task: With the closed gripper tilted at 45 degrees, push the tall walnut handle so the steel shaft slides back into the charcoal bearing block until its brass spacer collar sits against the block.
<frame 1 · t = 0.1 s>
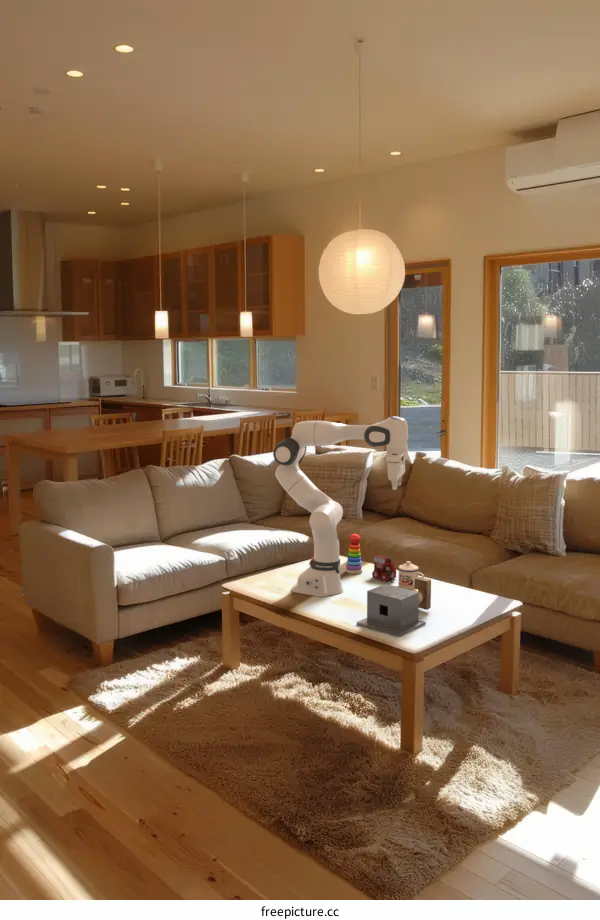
hand: (396, 487, 343), 48 cm above the table, tool pointing down, fingers open, 8 cm apart
teacup with lid: (411, 587, 363), on the table
stacking toy: (353, 572, 387), on the table
toy fire truck: (384, 579, 376), on the table
shaft: (409, 598, 325), point 8 cm above the table, slide at 8.0 cm
bearing block: (392, 624, 318), on the table
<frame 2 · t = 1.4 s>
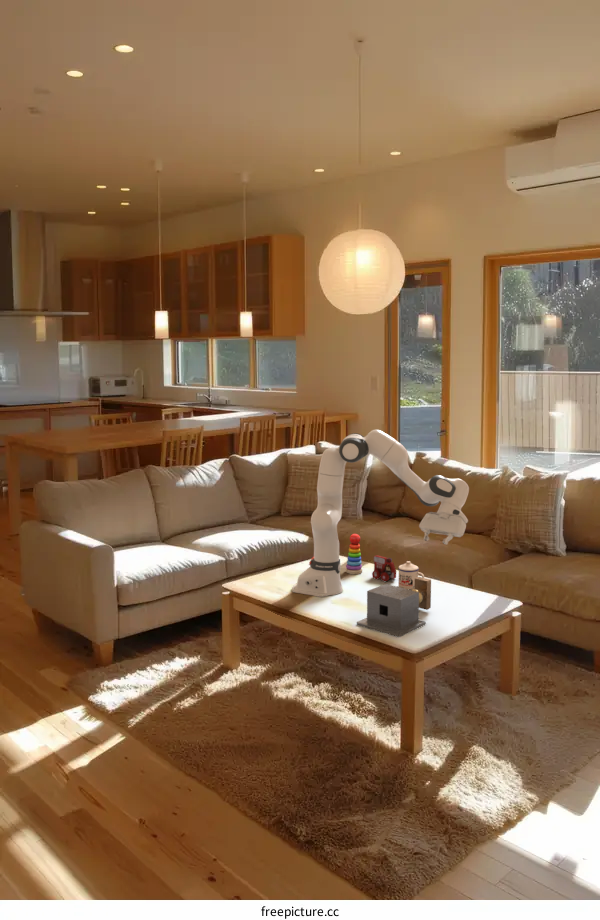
hand: (435, 541, 335), 27 cm above the table, tool tilted 45°, fingers open, 8 cm apart
nothing on the table moved.
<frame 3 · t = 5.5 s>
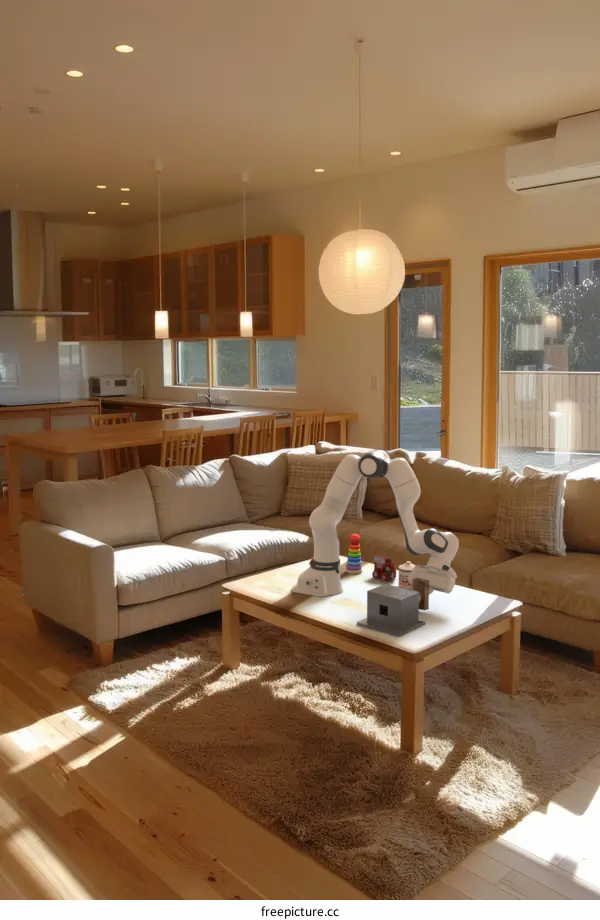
hand: (423, 596, 333), 6 cm above the table, tool tilted 45°, fingers closed, pressing on shaft
shaft: (407, 599, 324), point 8 cm above the table, slide at 6.5 cm, touching gripper
everything else where it was.
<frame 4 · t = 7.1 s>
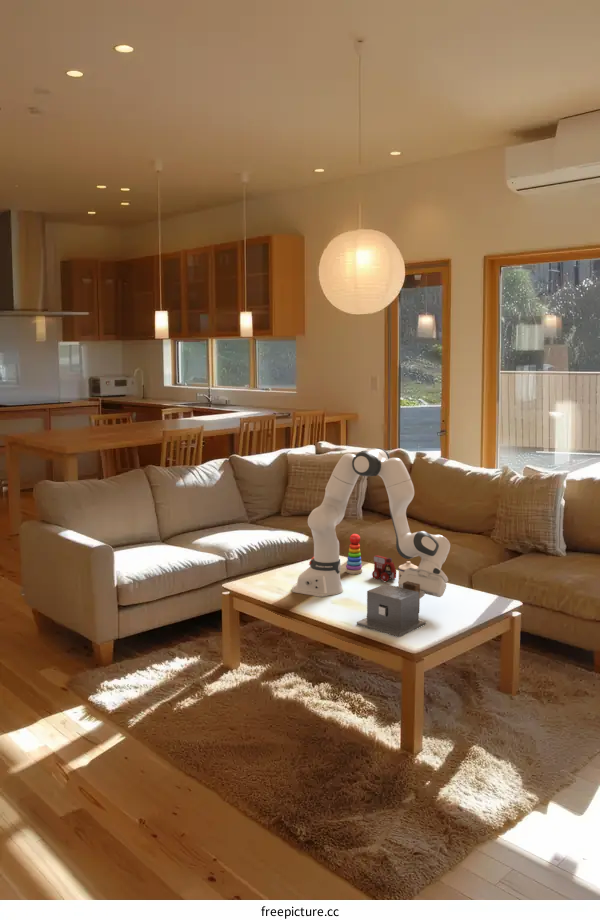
hand: (414, 600, 328), 6 cm above the table, tool tilted 45°, fingers closed, pressing on shaft
shaft: (398, 603, 319), point 8 cm above the table, slide at -0.1 cm, touching gripper
everything else where it was.
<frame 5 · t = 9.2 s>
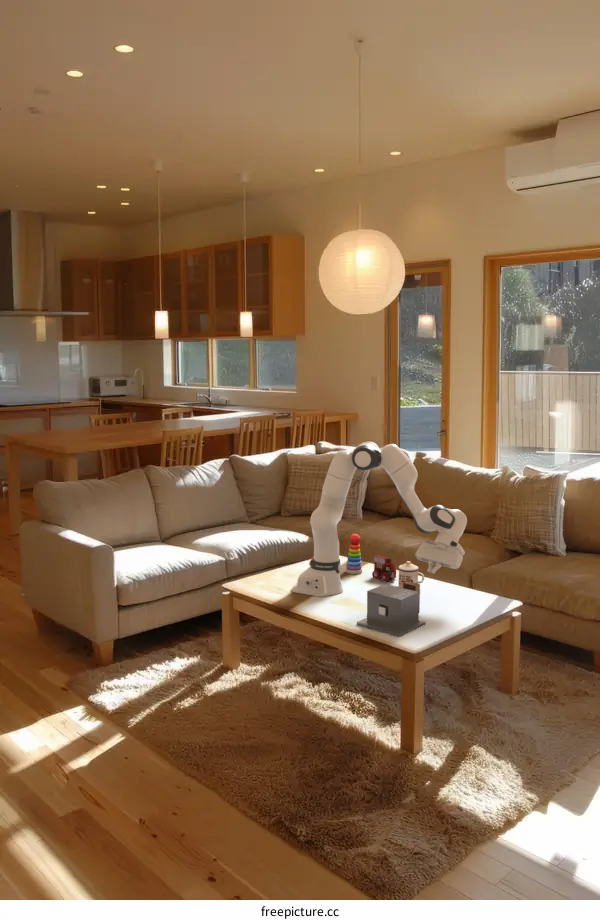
hand: (430, 572, 335), 15 cm above the table, tool tilted 45°, fingers closed
shaft: (398, 603, 319), point 8 cm above the table, slide at 0.0 cm
everything else where it was.
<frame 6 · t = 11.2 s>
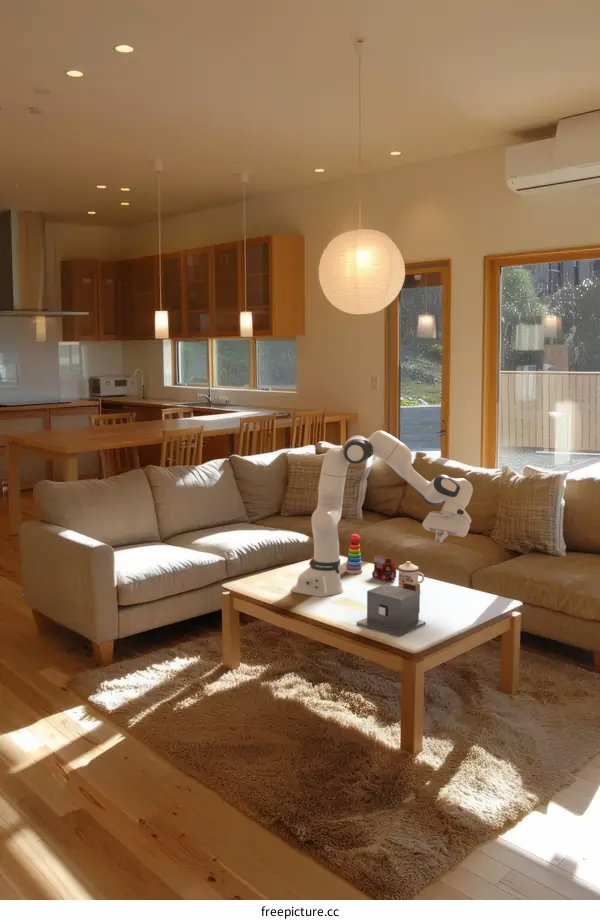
hand: (438, 540, 336), 27 cm above the table, tool tilted 45°, fingers closed
nothing on the table moved.
at the end: shaft slide at 0.0 cm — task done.
